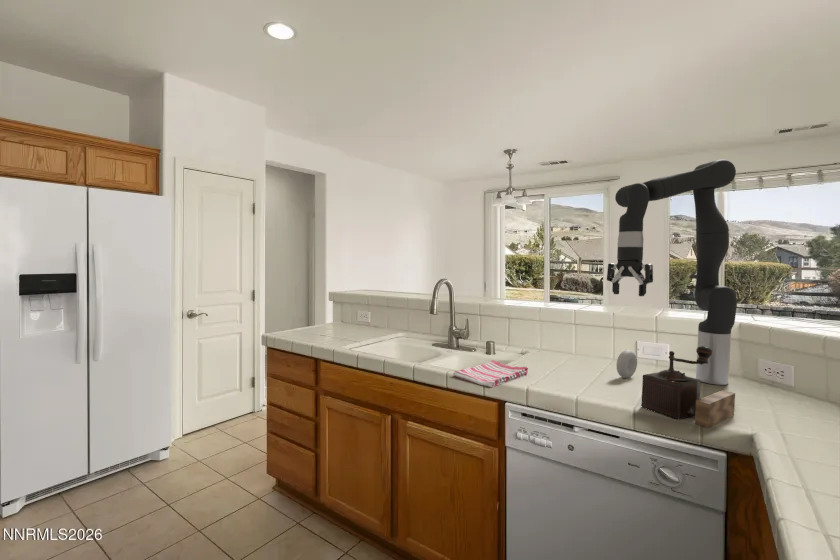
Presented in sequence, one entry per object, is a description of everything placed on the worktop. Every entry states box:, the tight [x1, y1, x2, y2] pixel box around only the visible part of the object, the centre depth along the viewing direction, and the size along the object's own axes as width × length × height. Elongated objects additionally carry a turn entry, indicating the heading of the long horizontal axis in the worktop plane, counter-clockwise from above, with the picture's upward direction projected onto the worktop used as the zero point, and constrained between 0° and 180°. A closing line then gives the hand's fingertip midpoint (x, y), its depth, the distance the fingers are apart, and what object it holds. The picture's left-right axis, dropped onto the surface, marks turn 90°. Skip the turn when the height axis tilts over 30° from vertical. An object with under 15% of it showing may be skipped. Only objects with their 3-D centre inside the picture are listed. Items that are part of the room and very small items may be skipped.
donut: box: [616, 349, 638, 379], centre depth 145 cm, size 10×4×10 cm, turn 124°
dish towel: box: [452, 359, 529, 388], centre depth 146 cm, size 17×23×4 cm
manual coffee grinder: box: [640, 346, 713, 420], centre depth 115 cm, size 16×11×18 cm
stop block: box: [694, 389, 736, 428], centre depth 108 cm, size 16×3×6 cm, turn 124°
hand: (628, 295), depth 136 cm, fingers open, 8 cm apart
